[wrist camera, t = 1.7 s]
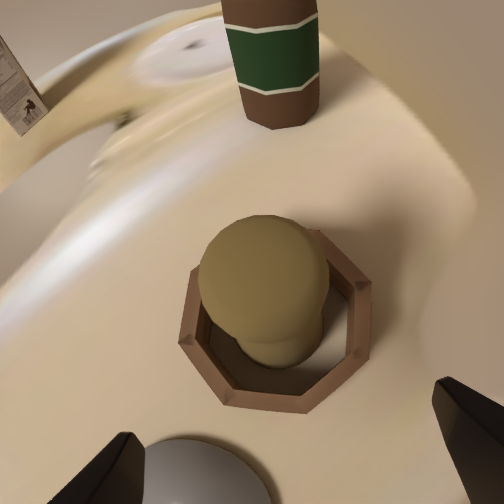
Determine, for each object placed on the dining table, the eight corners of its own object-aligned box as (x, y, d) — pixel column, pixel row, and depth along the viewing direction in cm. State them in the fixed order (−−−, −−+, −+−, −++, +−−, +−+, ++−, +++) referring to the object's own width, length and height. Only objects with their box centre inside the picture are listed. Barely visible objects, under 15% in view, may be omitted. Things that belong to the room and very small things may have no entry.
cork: (262, 268, 23) (232, 170, 13) (339, 306, 21) (370, 228, 11) (217, 341, 21) (146, 294, 11) (296, 385, 19) (292, 382, 9)
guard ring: (394, 329, 20) (408, 320, 17) (264, 441, 18) (259, 449, 15) (287, 220, 24) (285, 198, 22) (168, 313, 23) (150, 302, 20)
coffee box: (14, 119, 41) (-32, 58, 26) (42, 95, 42) (-1, 31, 27) (20, 138, 37) (-36, 69, 23) (50, 111, 38) (-1, 36, 24)
